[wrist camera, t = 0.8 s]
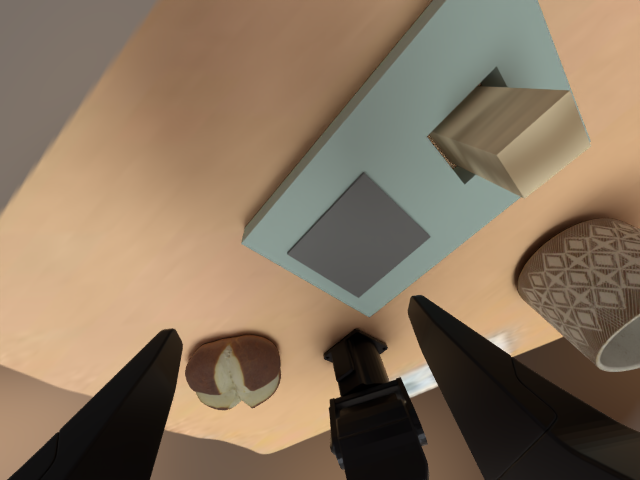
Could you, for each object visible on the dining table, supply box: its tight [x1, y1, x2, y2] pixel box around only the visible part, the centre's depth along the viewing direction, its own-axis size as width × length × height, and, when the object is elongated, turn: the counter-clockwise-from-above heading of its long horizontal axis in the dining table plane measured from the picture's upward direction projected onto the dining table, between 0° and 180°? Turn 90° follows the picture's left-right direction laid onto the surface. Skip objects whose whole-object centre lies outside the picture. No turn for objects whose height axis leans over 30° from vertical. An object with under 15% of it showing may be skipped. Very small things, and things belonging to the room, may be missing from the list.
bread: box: [185, 335, 281, 410], centre depth 31 cm, size 11×11×5 cm
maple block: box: [429, 86, 591, 199], centre depth 17 cm, size 4×4×8 cm
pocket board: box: [241, 0, 591, 317], centre depth 21 cm, size 16×24×3 cm, turn 138°
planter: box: [518, 218, 640, 372], centre depth 27 cm, size 13×13×10 cm
